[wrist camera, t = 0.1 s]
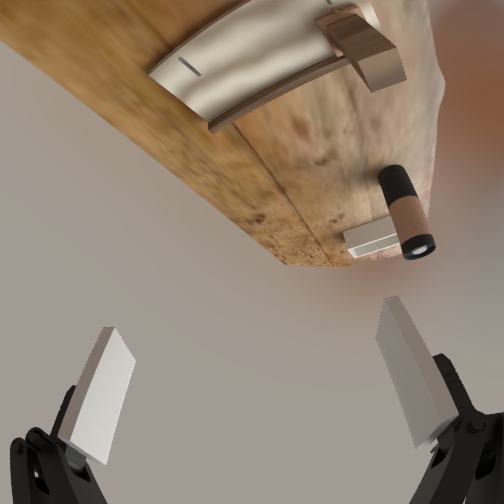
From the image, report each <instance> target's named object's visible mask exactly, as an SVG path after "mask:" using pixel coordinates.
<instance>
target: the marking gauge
mask: <svg viewBox="0 0 504 504" xmlns="http://www.w3.org/2000/svg"><path fill="white" fill-rule="evenodd" d="M331 10H332V11H333V12H332V13H329V14H327V15H324V16H322V17H320V18H317V19H315V22H316V23H317V25H318V26H319V28H320V29H321V31H322V33H323V34H324V36H325V38H326V39H327V41H328V43H329V44H330V46H331V48H332V49H333V51H334V53H335V54H336V56H337V57H339V56H342V55H344V56H345V57H346V58H347V59H348V61H349V62H350V63H351V65H352V66H353V67H354V69H355V70H356V71H357V73H358V74H359V76H360V77H361V78H362V80H363V81H364V83H365V84H366V85H367V87H368V88H369V90H370V91H371V93H372V92H375V91H378V90H380V89H383V88H386V87H388V86H391V85H394V84H397V83H400V82H403V81H405V80H407V79H406V75H405V72H404V69H403V65H402V62H401V59H400V56H399V53H398V50H397V47H396V46H394V45H393V44H392V43H391V42H390V41H389V40H388V39H387V38H386V37H384V36H383V35H382V34H381V33H380V32H379V31H378V30H376V29H375V28H374V27H373V26H372V25H370V24H369V23H368V22H367V21H366V19H365V17H364V15H363V13H362V11H361V9H360V7H359V6H357V5H356V4H353V5H350V6H348V7H345V8H342V9H340V10H337V9H336V8H332V9H331Z"/></svg>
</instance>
